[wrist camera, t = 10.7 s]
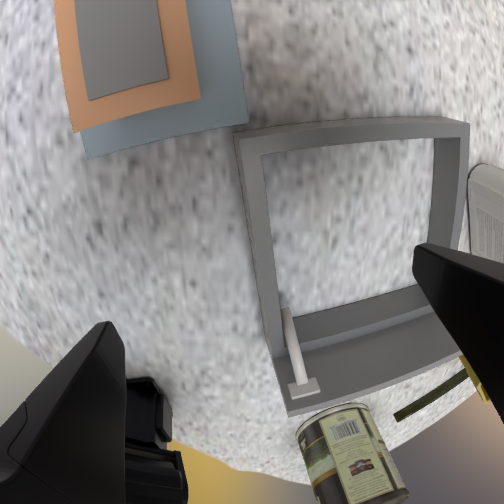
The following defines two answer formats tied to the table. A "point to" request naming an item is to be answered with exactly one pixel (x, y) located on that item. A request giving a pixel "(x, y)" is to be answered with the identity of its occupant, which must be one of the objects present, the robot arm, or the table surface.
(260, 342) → the table surface
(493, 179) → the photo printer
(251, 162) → the grey open frame
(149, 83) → the block
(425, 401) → the rod
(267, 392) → the table surface
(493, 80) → the table surface
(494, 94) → the table surface
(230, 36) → the mat
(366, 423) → the coffee can
